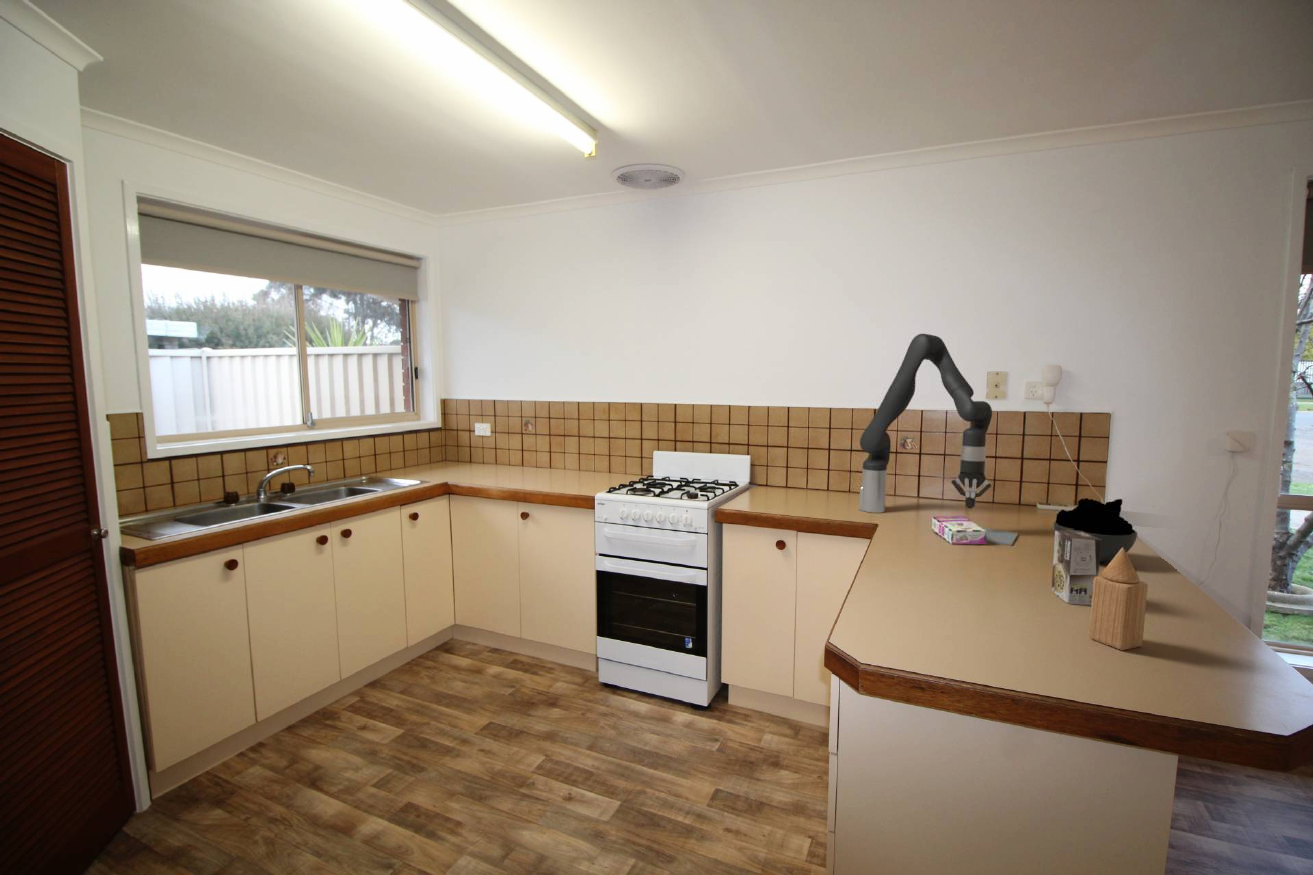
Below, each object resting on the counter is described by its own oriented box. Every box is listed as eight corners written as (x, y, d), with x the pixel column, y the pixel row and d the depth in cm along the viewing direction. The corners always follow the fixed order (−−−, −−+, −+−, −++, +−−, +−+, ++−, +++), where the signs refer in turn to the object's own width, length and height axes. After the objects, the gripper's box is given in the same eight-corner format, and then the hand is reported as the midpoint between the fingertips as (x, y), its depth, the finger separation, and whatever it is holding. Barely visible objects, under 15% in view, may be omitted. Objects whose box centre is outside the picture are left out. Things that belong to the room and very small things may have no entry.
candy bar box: (931, 530, 209) (950, 545, 193) (931, 516, 208) (951, 530, 192) (964, 529, 208) (986, 544, 192) (964, 515, 207) (986, 529, 191)
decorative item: (1087, 638, 122) (1094, 543, 120) (1108, 633, 125) (1116, 540, 123) (1122, 652, 116) (1130, 552, 114) (1143, 646, 119) (1152, 549, 117)
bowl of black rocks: (1055, 564, 172) (1060, 500, 171) (1047, 547, 190) (1051, 489, 188) (1142, 574, 163) (1148, 507, 161) (1125, 556, 181) (1130, 495, 179)
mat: (957, 537, 201) (957, 535, 201) (967, 527, 216) (967, 525, 215) (1011, 545, 192) (1011, 543, 192) (1018, 534, 206) (1018, 532, 206)
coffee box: (1097, 606, 140) (1102, 539, 138) (1067, 604, 141) (1072, 538, 140) (1078, 592, 149) (1083, 530, 147) (1050, 590, 150) (1054, 528, 149)
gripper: (949, 458, 206) (947, 507, 207) (992, 461, 198) (989, 512, 199) (954, 456, 212) (951, 503, 213) (996, 459, 204) (993, 508, 205)
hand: (970, 508), depth 206 cm, fingers closed
